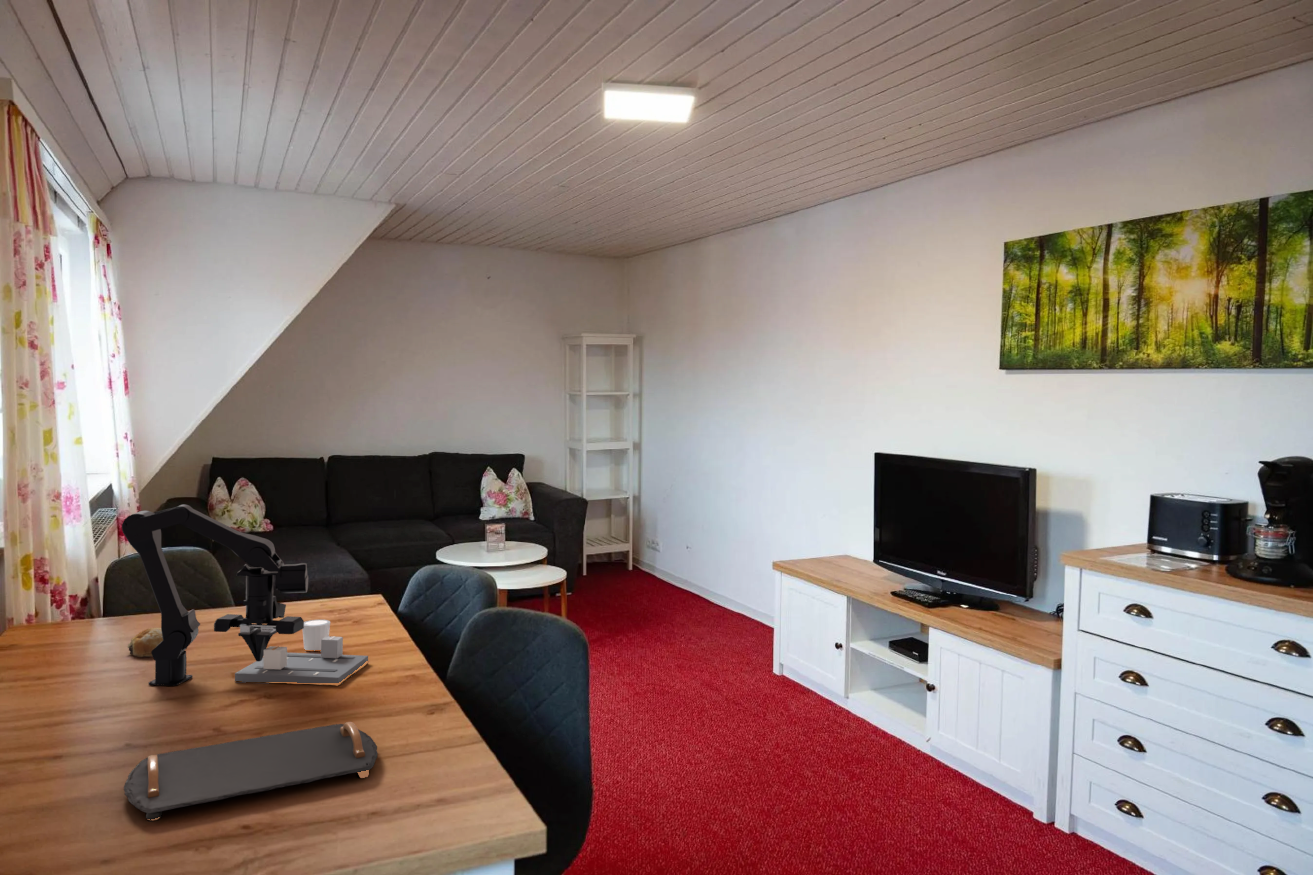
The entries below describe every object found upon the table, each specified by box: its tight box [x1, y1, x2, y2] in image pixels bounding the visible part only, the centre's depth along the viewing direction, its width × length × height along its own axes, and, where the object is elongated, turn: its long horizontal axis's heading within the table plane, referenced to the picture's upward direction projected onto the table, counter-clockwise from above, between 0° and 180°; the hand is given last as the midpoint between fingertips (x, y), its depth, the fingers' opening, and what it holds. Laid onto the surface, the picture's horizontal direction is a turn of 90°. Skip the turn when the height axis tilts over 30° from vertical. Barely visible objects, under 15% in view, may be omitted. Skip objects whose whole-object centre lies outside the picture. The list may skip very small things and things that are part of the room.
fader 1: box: [263, 645, 288, 670], centre depth 194 cm, size 3×4×4 cm
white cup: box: [301, 619, 331, 651], centre depth 217 cm, size 7×7×7 cm
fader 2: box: [320, 635, 344, 658], centre depth 203 cm, size 3×4×4 cm
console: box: [234, 651, 369, 683], centre depth 198 cm, size 17×24×2 cm
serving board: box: [123, 721, 379, 820], centre depth 143 cm, size 39×23×6 cm, turn 122°
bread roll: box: [126, 627, 163, 658], centre depth 211 cm, size 10×10×8 cm
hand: (259, 660), depth 194 cm, fingers closed
